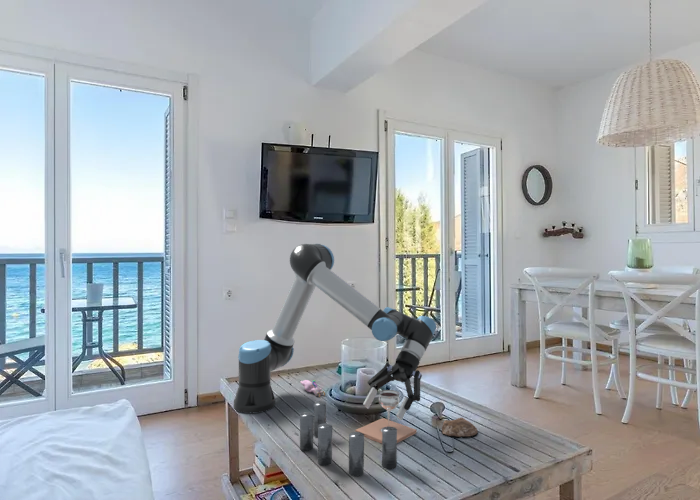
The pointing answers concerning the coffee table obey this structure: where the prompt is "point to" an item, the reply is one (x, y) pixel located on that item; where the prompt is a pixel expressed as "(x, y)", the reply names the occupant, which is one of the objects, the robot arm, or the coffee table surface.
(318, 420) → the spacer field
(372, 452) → the coffee table surface
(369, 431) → the terracotta tile
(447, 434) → the shell
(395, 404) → the wineglass
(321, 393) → the rabbit figure
